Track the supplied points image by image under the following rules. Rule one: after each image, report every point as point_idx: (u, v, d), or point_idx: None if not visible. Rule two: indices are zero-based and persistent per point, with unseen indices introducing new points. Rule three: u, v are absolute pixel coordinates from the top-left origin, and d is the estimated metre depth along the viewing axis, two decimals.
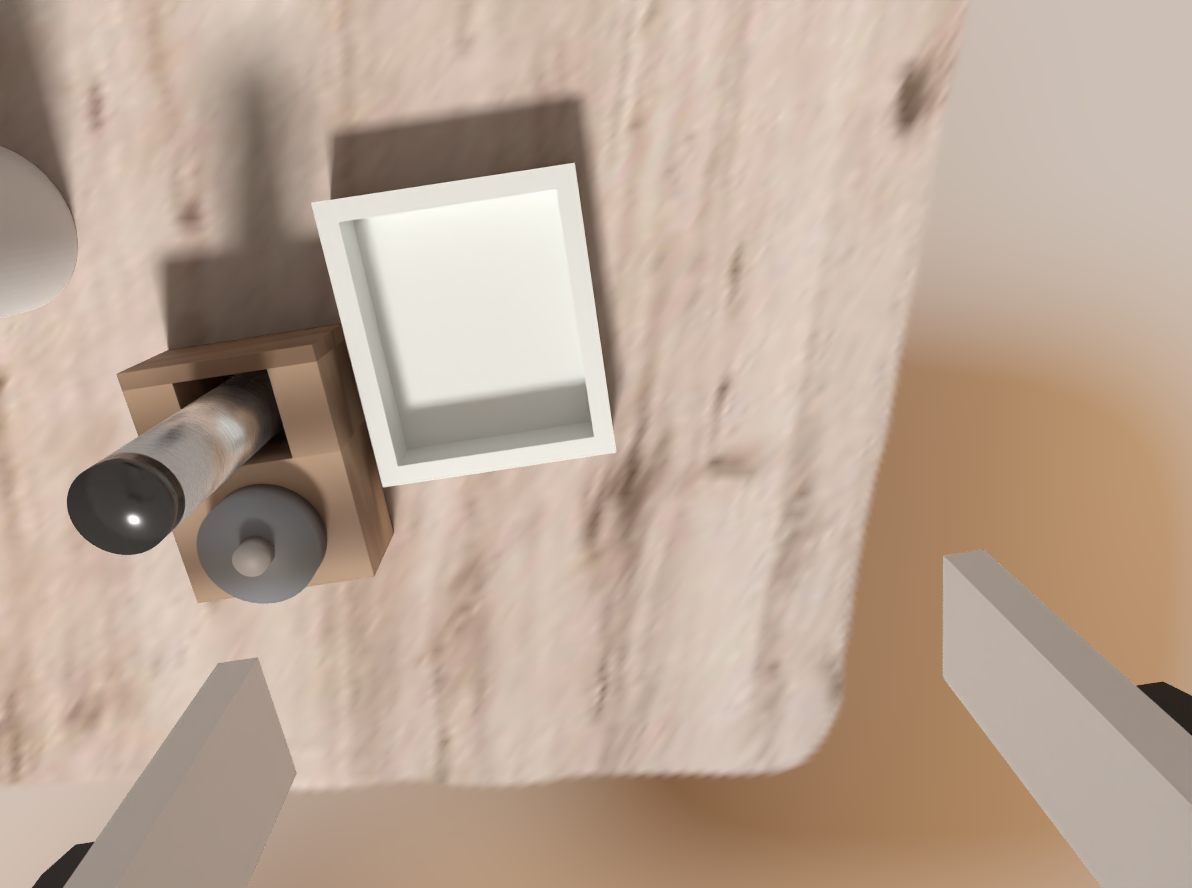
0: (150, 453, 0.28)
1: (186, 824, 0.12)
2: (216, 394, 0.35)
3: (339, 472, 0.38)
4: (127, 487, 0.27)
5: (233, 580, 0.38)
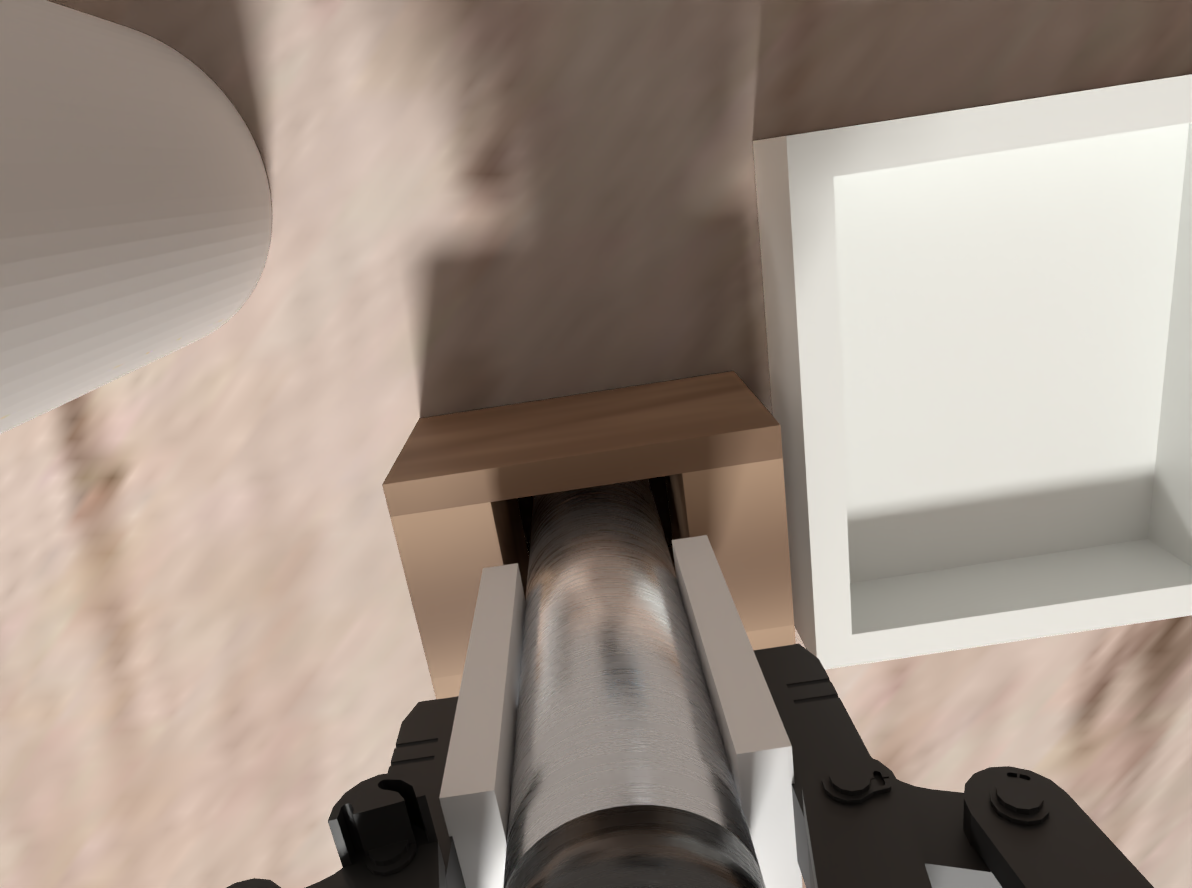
0: (688, 800, 0.10)
1: (514, 683, 0.14)
2: (605, 533, 0.17)
3: None
4: None
5: None
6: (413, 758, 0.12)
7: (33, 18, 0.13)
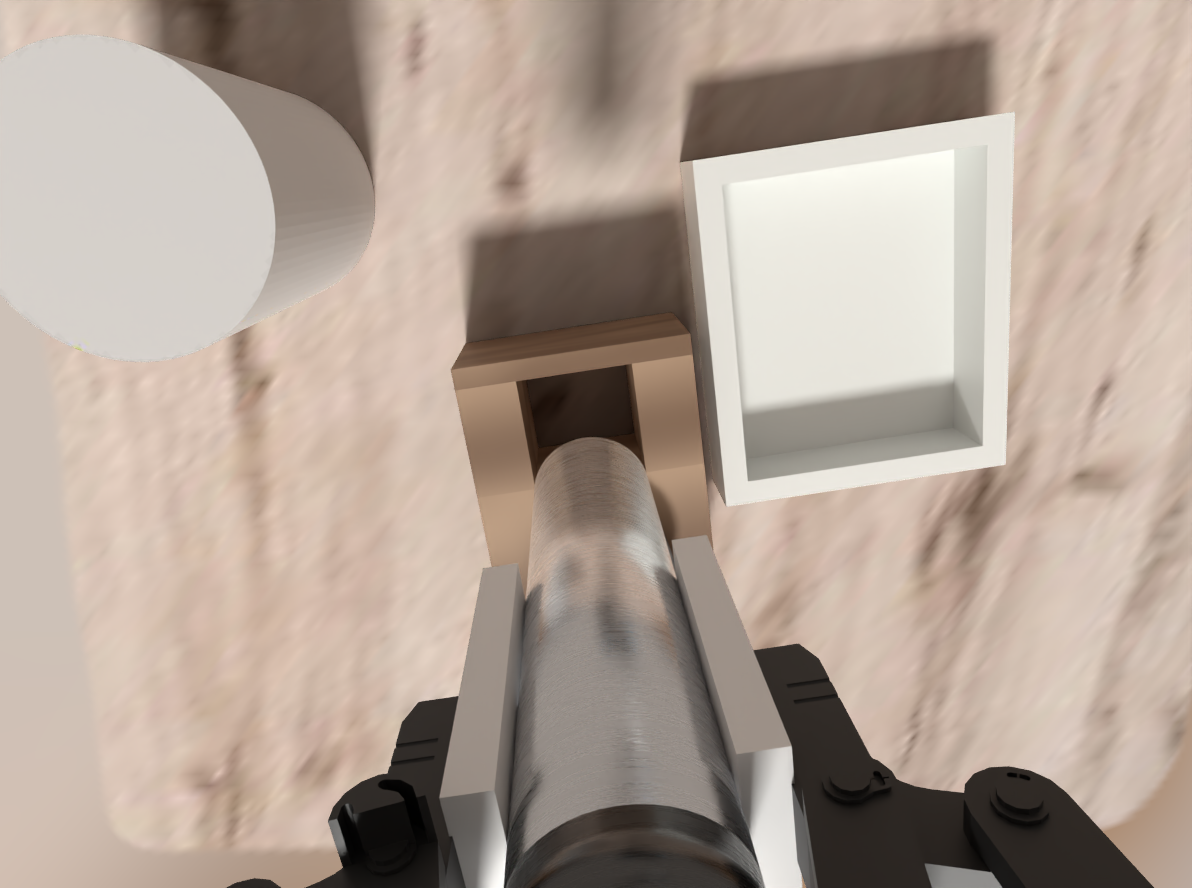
0: (688, 799, 0.10)
1: (514, 683, 0.14)
2: (604, 533, 0.17)
3: (698, 489, 0.31)
4: None
5: None
6: (413, 758, 0.12)
7: (277, 101, 0.25)
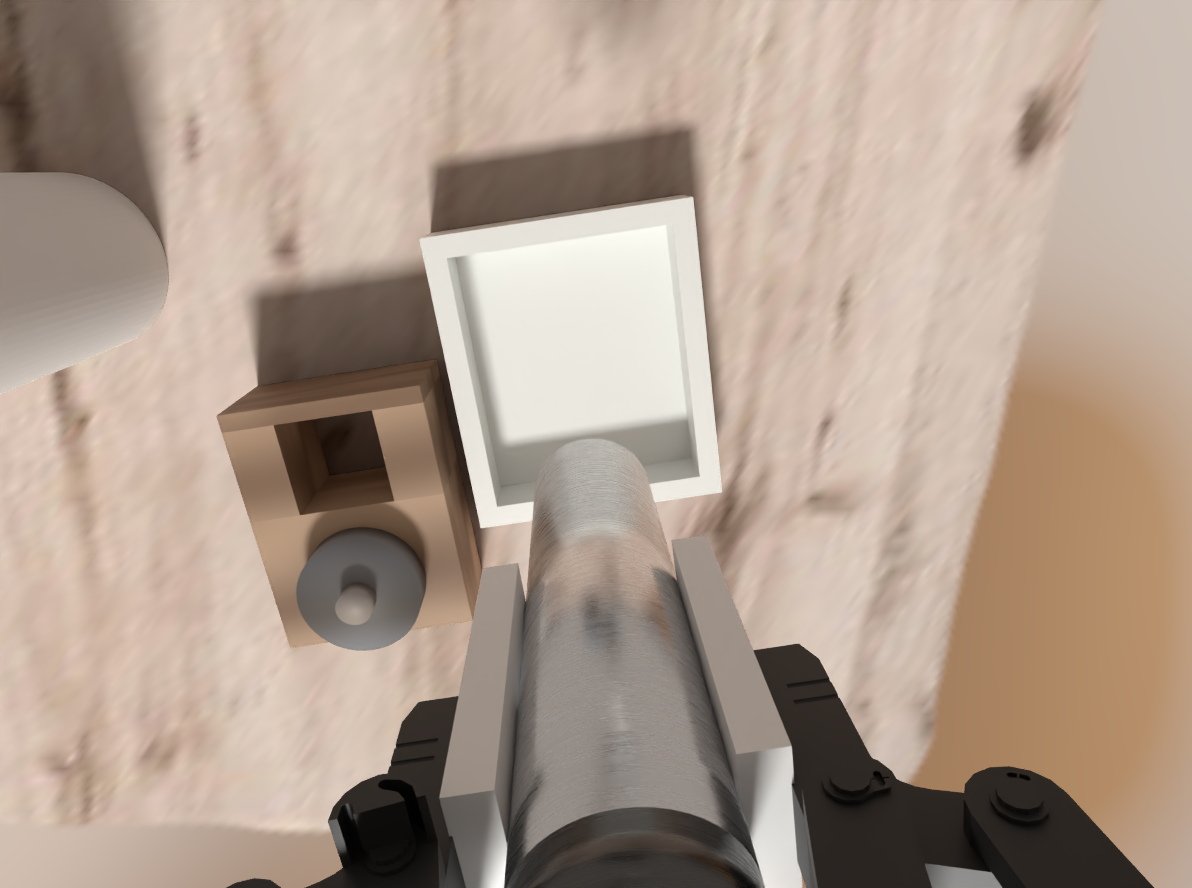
0: (688, 802, 0.10)
1: (514, 684, 0.14)
2: (605, 535, 0.17)
3: (441, 515, 0.37)
4: None
5: (332, 627, 0.37)
6: (413, 758, 0.12)
7: (38, 200, 0.30)
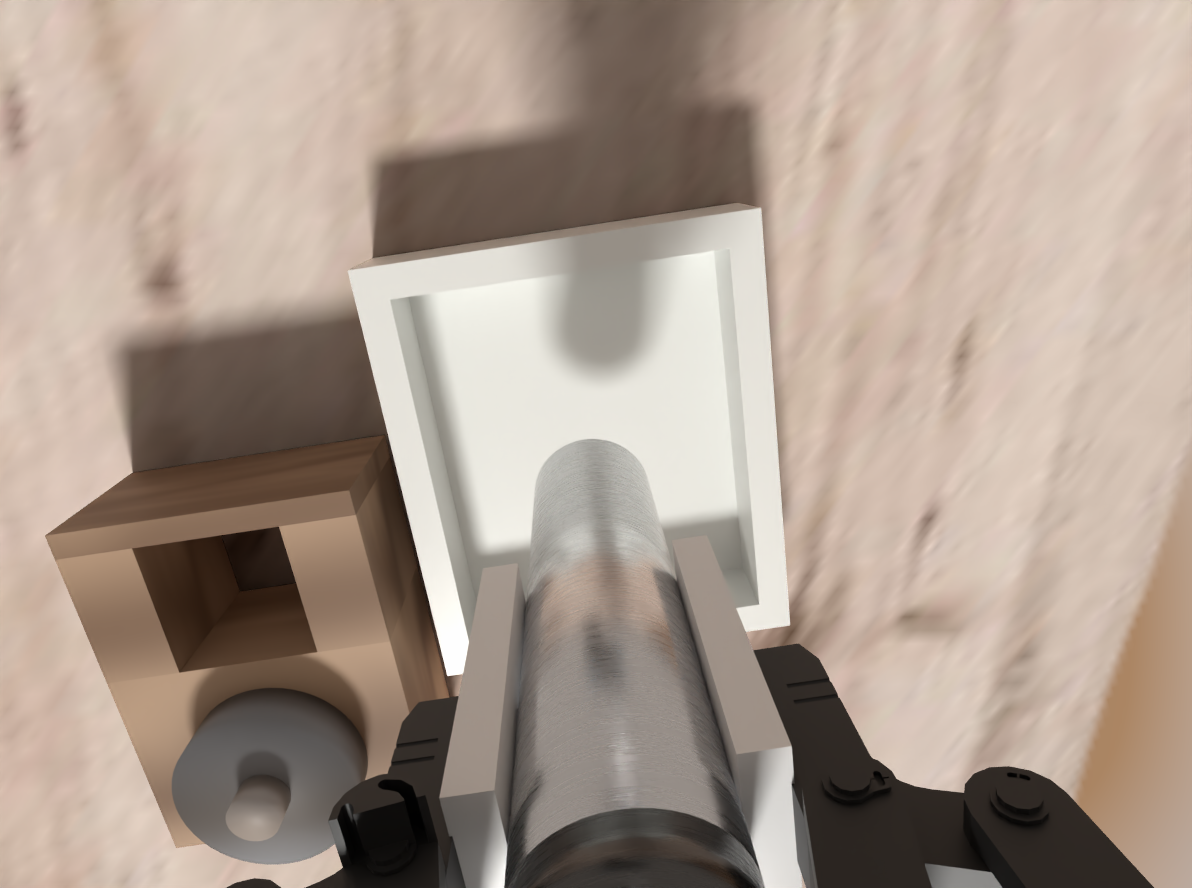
0: (689, 802, 0.10)
1: (514, 684, 0.14)
2: (605, 535, 0.17)
3: (387, 670, 0.25)
4: None
5: (228, 834, 0.25)
6: (413, 758, 0.12)
7: None
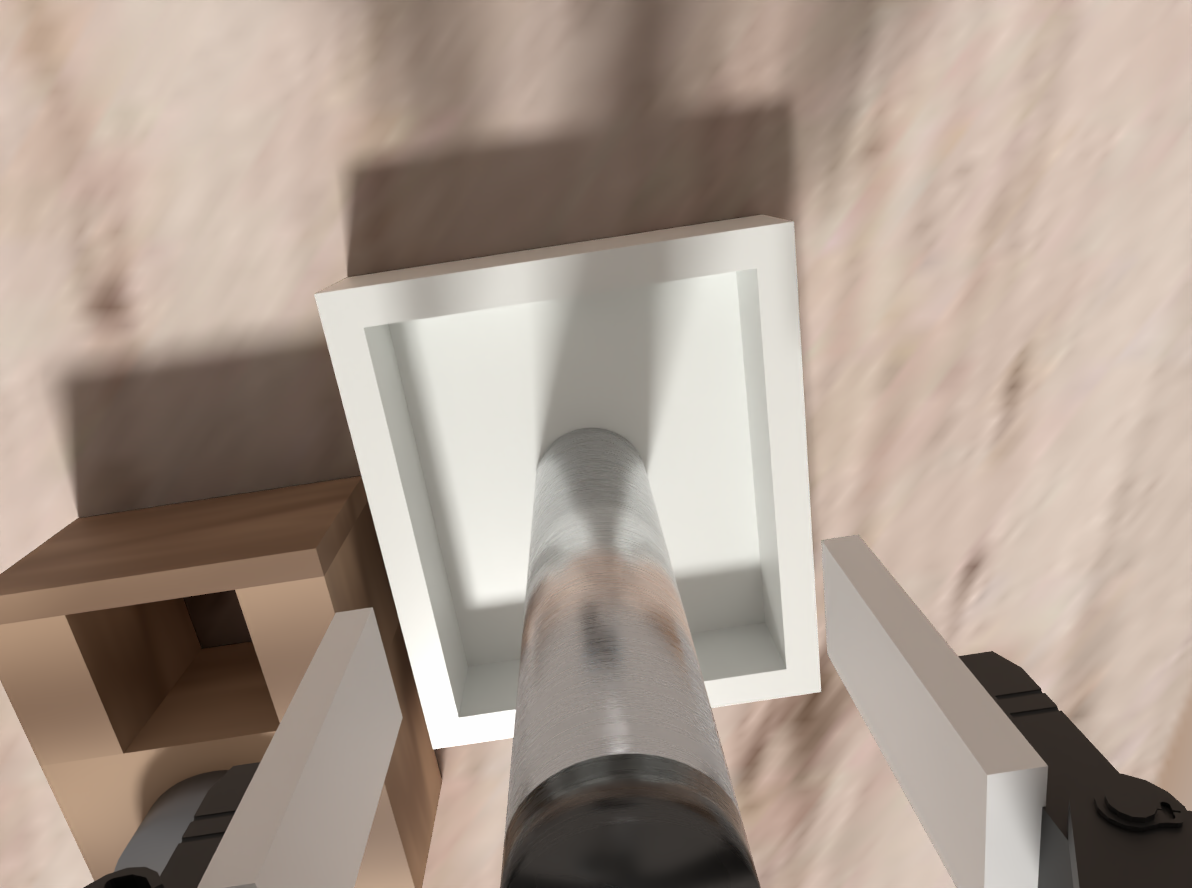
0: (674, 750, 0.11)
1: (335, 747, 0.13)
2: (602, 516, 0.18)
3: None
4: (670, 876, 0.10)
5: None
6: (206, 834, 0.12)
7: None
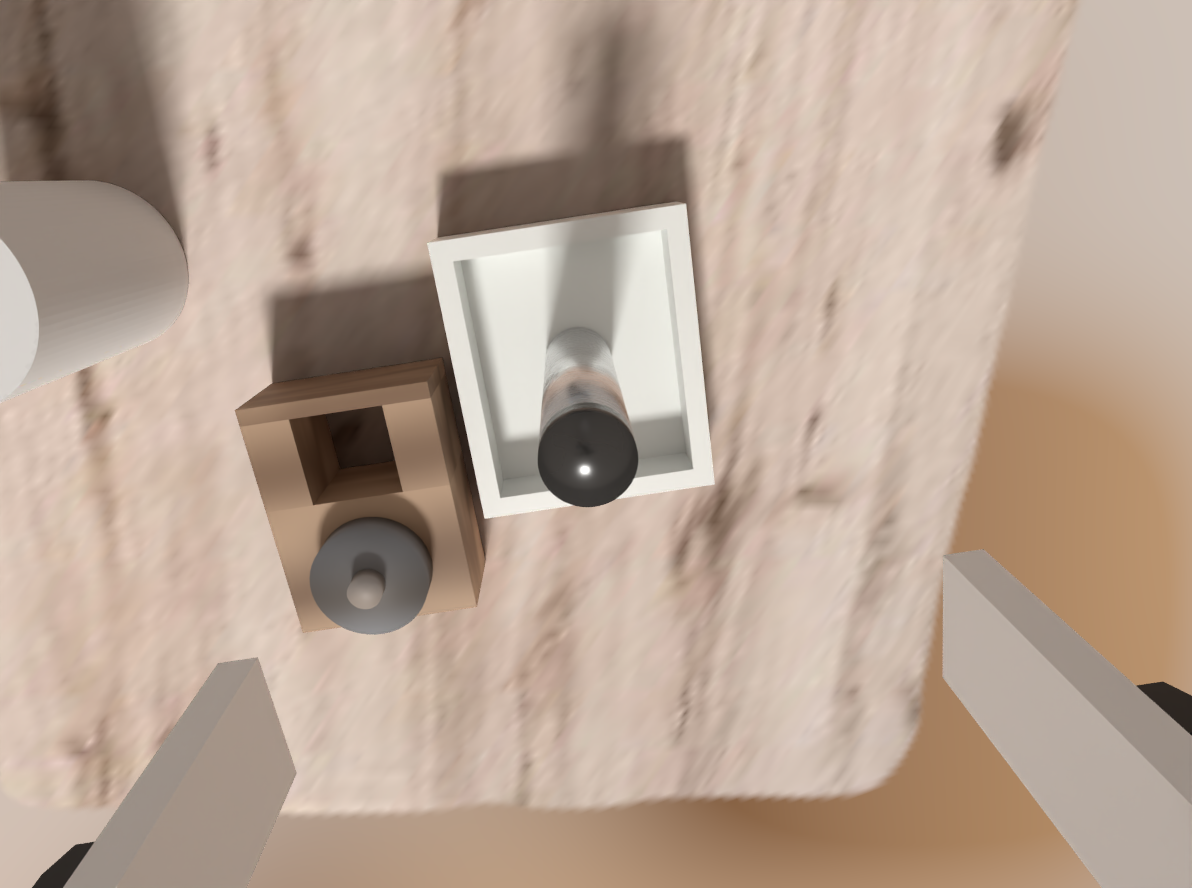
0: (605, 404, 0.27)
1: (187, 824, 0.12)
2: (582, 354, 0.34)
3: (447, 505, 0.39)
4: (601, 436, 0.26)
5: (343, 612, 0.38)
6: None
7: (71, 207, 0.32)
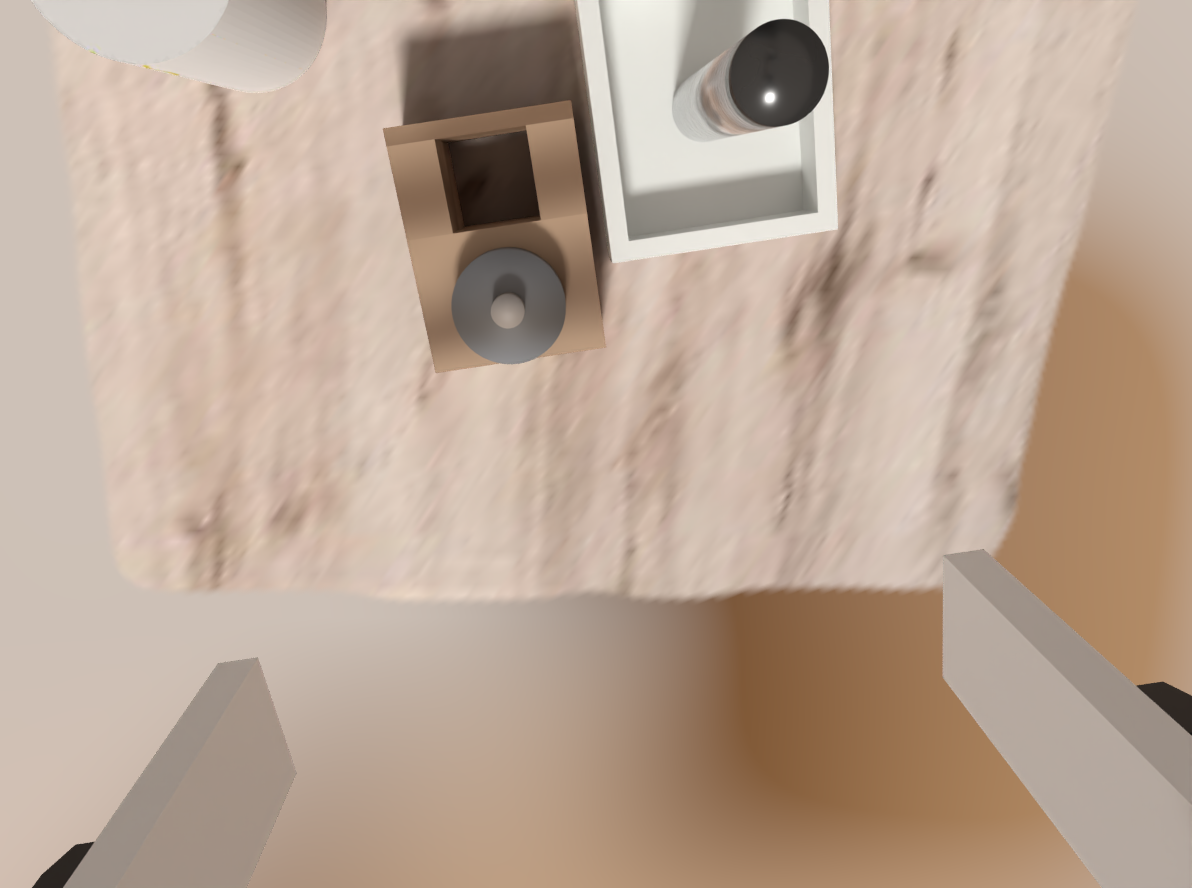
0: None
1: (186, 823, 0.12)
2: None
3: (583, 235, 0.39)
4: (795, 46, 0.27)
5: (482, 339, 0.39)
6: None
7: None
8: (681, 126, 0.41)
